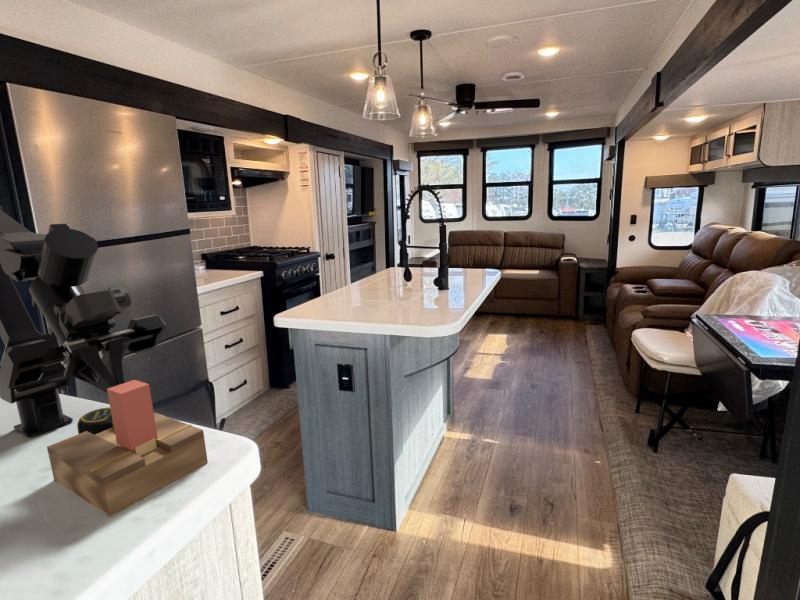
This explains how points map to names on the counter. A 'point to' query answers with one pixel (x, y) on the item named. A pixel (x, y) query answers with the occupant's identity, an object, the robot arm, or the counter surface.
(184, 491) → the counter surface
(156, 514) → the counter surface
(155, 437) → the red tall block
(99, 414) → the tape measure
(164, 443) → the grooved wooden block
